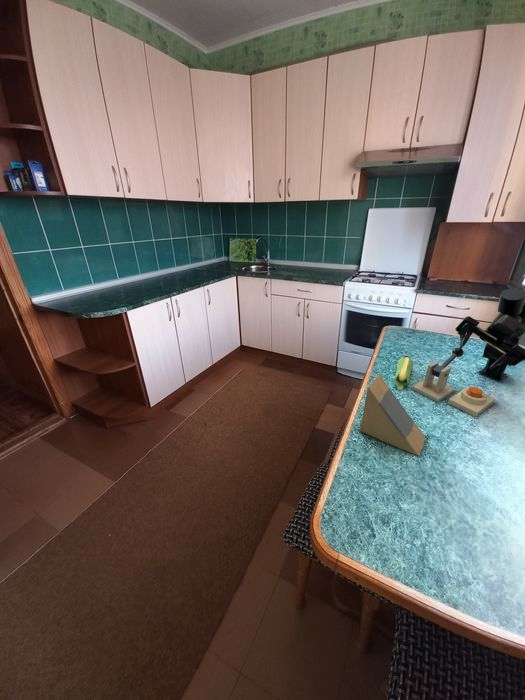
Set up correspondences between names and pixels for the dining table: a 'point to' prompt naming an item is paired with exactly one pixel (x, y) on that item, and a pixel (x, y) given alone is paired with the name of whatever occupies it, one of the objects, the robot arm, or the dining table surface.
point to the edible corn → (403, 372)
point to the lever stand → (434, 384)
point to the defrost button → (475, 392)
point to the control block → (471, 402)
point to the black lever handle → (447, 361)
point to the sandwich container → (389, 419)
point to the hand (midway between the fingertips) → (475, 357)
